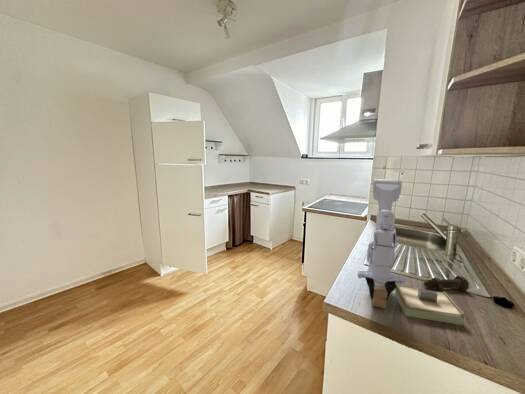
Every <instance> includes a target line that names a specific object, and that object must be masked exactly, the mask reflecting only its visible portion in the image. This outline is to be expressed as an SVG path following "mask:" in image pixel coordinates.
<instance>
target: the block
mask: <svg viewBox="0 0 525 394" xmlns="http://www.w3.org/2000/svg"><path fill="white" fill-rule="evenodd" d="M374 284H375V286H374V291H373V299H371V298H370V301H371V303H372V307H377V308H384V309H386V308H387V302H388V300H387V293H388V292H387V290H386V288H385V286H384V284H378V283H374Z"/></svg>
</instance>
